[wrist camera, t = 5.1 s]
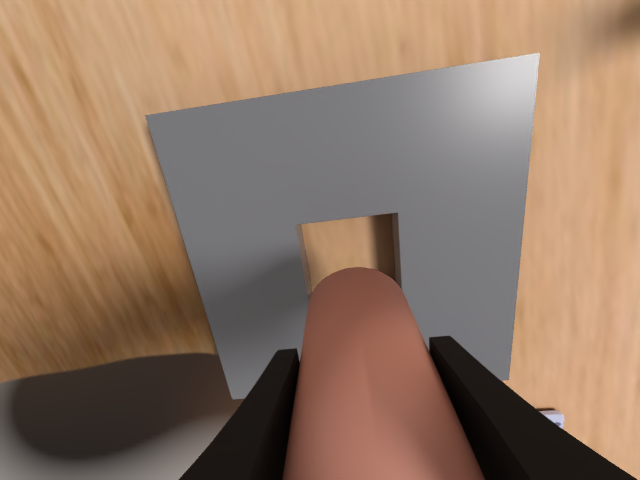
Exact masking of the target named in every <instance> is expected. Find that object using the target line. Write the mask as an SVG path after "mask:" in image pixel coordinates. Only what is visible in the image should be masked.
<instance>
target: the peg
mask: <svg viewBox="0 0 640 480" xmlns="http://www.w3.org/2000/svg"><path fill="white" fill-rule="evenodd" d="M282 480H485V477H484V475H483V473H482V471H481V468H480V466H479V464H478V461H477V459H476V457H475V455H474V452H473V450H472V448H471V446H470V443H469V441H468V439H467V436H466V434H465V432H464V430H463V427H462V425H461V423H460V420H459V418H458V416H457V414H456V411H455V409H454V407H453V404H452V402H451V400H450V398H449V395H448V393H447V391H446V388H445V386H444V384H443V382H442V379H441V377H440V375H439V372H438V370H437V368H436V366H435V363H434V361H433V359H432V356H431V354H430V352H429V350H428V347H427V345H426V343H425V341H424V338H423V336H422V334H421V331H420V329H419V327H418V325H417V322H416V320H415V318H414V315H413V313H412V311H411V309H410V306H409V304H408V302H407V299H406V297H405V295H404V293H403V291H402V289H401V288H400V286H399V285H398V284H397V283H396V282H395V281H394V280H393V279H392V278H391V277H389V276H387V275H386V274H384V273H382V272H380V271H377V270H374V269H369V268H361V267H356V268H347V269H343V270H340V271H337V272H335V273H332V274H331V275H329V276H327V277H326V278H325V279H323V280H322V281H321V282H320V283H319V284H318V285H317V287H316V288H315V289H314V291H313V293H312V295H311V297H310V300H309V304H308V310H307V317H306V323H305V330H304V337H303V344H302V350H301V357H300V364H299V371H298V377H297V384H296V391H295V398H294V404H293V411H292V418H291V425H290V431H289V438H288V445H287V452H286V458H285V465H284V472H283V479H282Z"/></svg>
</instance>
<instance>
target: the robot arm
mask: <svg viewBox="0 0 640 480" xmlns="http://www.w3.org/2000/svg"><path fill="white" fill-rule="evenodd" d="M429 352H430V354H431V356H432V359H433V361H434V363H435V366H436V368H437V370H438V372H439V375H440V377H441V379H442V382H443V384H444V386H445V388H446V391H447V393H448V395H449V398H450V400H451V402H452V404H453V407H454V409H455V411H456V414H457V416H458V418H459V420H460V423H461V425H462V427H463V430H464V432H465V434H466V436H467V439H468V441H469V443H470V446H471V448H472V450H473V452H474V455H475V457H476V459H477V461H478V464H479V466H480V468H481V471H482V473H483V475H484V477H485V480H637V479H636V478H634V477H633V476H631V475H630V474H628V473H627V472H625V471H623V470H622V469H620V468H619V467H617V466H616V465H614V464H613V463H611V462H610V461H608V460H607V459H605V458H604V457H602V456H601V455H599V454H598V453H596V452H595V451H593V450H592V449H591V448H589V447H588V446H586V445H585V444H583V443H582V442H580V441H579V440H577V439H576V438H574V437H573V436H572V435H570V434H569V433H567V432H566V431H565V430H563V424H564V416H563V415H562V413H561V412H560V411H557V410H551V411H538V410H537V409H535V408H534V407H533V406H531V405H530V404H529V403H528V402H526V401H525V400H524V399H523V398H521V397H520V396H519V395H518V394H516V393H515V392H514V391H513V390H512V389H510V388H509V387H508V386H507V385H506V384H504V383H503V382H502V381H501V380H500V379H499V378H497V377H496V376H495V375H494V374H493V373H491V372H490V371H489V370H488V369H487V368H486V367H485V366H483V365H482V364H481V363H480V362H479V361H478V360H477V359H476V358H474V357H473V356H472V355H471V354H470V353H469V352H468V351H467V350H466V349H464V348H463V347H462V346H461V345H460V344H459V343H458V342H457V341H456V340H455V339H453V338H452V337H451V336H438V337H429ZM299 364H300V361H299V356H298V351H297V348H294V349H282V350H278V351H277V352H276V353H275V354H274V356H273V357H272V359H271V361H270V362H269V364H268V365H267V367H266V368H265V370H264V371H263V373H262V374H261V376H260V377H259V379H258V380H257V382H256V383H255V385H254V386H253V388H252V389H251V390H250V392H249V393H248V395H247V396H246V398H245V399H244V400H243V402H242V403H241V405H240V406H239V407H238V409H237V410H236V412H235V413H234V414H233V415H232V417H231V418H230V419H229V421H228V422H227V423H226V424H225V426H224V427H223V428H222V430H221V431H220V432H219V433H218V435H217V436H216V437H215V438H214V440H213V441H212V442H211V443H210V445H209V446H208V447H207V448H206V449H205V451H204V452H203V453H202V454H201V455H200V456H199V458H198V459H197V460H196V461H195V462H194V463H193V464H192V465H191V467H190V468H189V469H188V470H187V471H186V472H185V473H184V474H183V475H182V477H181V478H180V479H179V480H282V479H283V472H284V465H285V458H286V452H287V445H288V438H289V431H290V425H291V418H292V411H293V404H294V398H295V391H296V384H297V377H298V371H299Z"/></svg>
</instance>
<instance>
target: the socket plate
mask: <svg viewBox="0 0 640 480" xmlns="http://www.w3.org/2000/svg"><path fill="white" fill-rule="evenodd" d="M539 55H540V53H535V54H529V55H523V56H516V57H510V58H504V59H498V60H491V61H485V62H479V63H472V64H466V65H460V66H453V67H447V68H441V69H435V70H428V71H422V72H416V73H409V74H403V75H397V76H390V77H384V78H378V79H372V80H365V81H359V82H353V83H346V84H340V85H334V86H327V87H321V88H315V89H309V90H302V91H296V92H290V93H283V94H277V95H271V96H264V97H258V98H252V99H246V100H239V101H233V102H227V103H220V104H214V105H208V106H201V107H195V108H189V109H183V110H176V111H170V112H164V113H157V114H151V115H145V116H146V120H147V123H148V126H149V129H150V133H151V136H152V139H153V142H154V146H155V149H156V152H157V155H158V159H159V162H160V165H161V168H162V172H163V175H164V178H165V182H166V185H167V188H168V191H169V195H170V198H171V201H172V204H173V208H174V211H175V214H176V217H177V221H178V224H179V227H180V230H181V234H182V237H183V240H184V243H185V247H186V250H187V253H188V256H189V260H190V263H191V266H192V269H193V273H194V276H195V279H196V283H197V286H198V289H199V292H200V296H201V299H202V302H203V305H204V309H205V312H206V315H207V318H208V322H209V325H210V328H211V331H212V335H213V338H214V341H215V344H216V348H217V351H218V354H219V357H220V361H221V364H222V367H223V370H224V374H225V377H226V380H227V383H228V386H229V390H230V393H231V397H232V399H243V398H246V396H247V395H248V393H249V392H250V390H251V389H252V388H253V386H254V385H255V383H256V382H257V380H258V379H259V377H260V376H261V374H262V373H263V371H264V370H265V368H266V367H267V365H268V364H269V362H270V361H271V359H272V357H273V356H274V354H275V353H276V352H277V351H278V350H282V349H294V348H297V351H298V356H299V361H300V357H301V350H302V344H303V337H304V330H305V323H306V317H307V310H308V304H309V300H310V297H311V295H312V288H311V282H310V276H309V270H308V264H307V258H306V252H305V246H304V240H303V234H302V228H301V224H306V223H314V222H322V221H331V220H339V219H347V218H356V217H364V216H372V215H381V214H389V213H392V228H393V245H394V263H395V280H396V283H397V284H398V285H399V286H400V288H401V289H402V291H403V293H404V295H405V297H406V299H407V302H408V304H409V306H410V309H411V311H412V313H413V315H414V318H415V320H416V322H417V325H418V327H419V329H420V331H421V334H422V336H423V338H424V341H425V343H426V345H427V347H428V350H429V337H438V336H451V337H452V338H453V339H455V340H456V341H457V342H458V343H459V344H460V345H461V346H462V347H463V348H464V349H466V350H467V351H468V352H469V353H470V354H471V355H472V356H473V357H474V358H476V359H477V360H478V361H479V362H480V363H481V364H482V365H483V366H485V367H486V368H487V369H488V370H489V371H490V372H491V373H493V374H494V375H495V376H496V377H497V378H499V379H500V380H501V381H502V380H509V372H510V362H511V351H512V340H513V330H514V319H515V309H516V298H517V288H518V277H519V267H520V256H521V245H522V235H523V224H524V214H525V203H526V193H527V182H528V171H529V161H530V150H531V140H532V129H533V119H534V108H535V98H536V87H537V76H538V66H539Z"/></svg>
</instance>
